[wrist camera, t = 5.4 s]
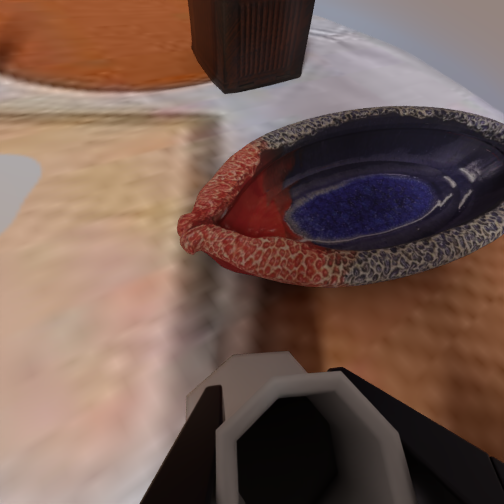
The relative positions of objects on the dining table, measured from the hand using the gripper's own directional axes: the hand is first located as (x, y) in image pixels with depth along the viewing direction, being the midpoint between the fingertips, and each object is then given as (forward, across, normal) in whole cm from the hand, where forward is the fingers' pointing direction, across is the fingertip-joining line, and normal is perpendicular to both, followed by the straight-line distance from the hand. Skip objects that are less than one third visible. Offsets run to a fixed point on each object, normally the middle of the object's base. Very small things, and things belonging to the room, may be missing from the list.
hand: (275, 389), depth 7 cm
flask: (+4, 0, +6) cm, 7 cm away
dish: (+17, -11, -2) cm, 21 cm away
